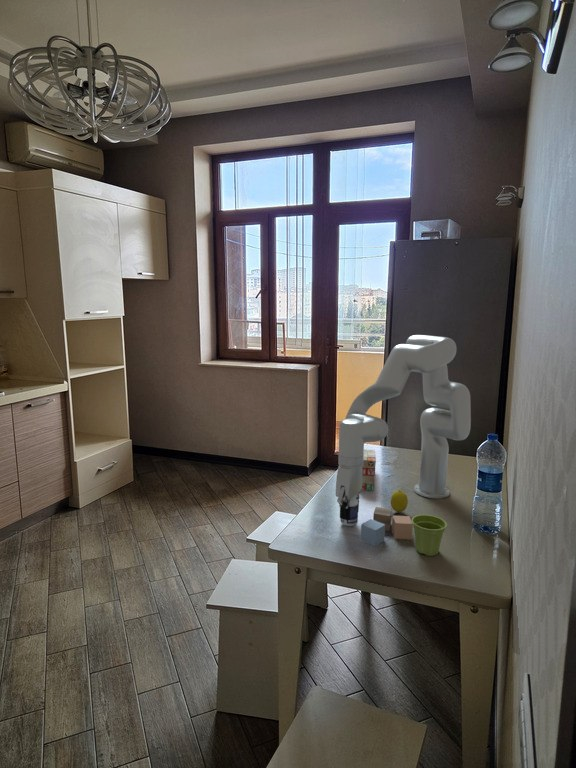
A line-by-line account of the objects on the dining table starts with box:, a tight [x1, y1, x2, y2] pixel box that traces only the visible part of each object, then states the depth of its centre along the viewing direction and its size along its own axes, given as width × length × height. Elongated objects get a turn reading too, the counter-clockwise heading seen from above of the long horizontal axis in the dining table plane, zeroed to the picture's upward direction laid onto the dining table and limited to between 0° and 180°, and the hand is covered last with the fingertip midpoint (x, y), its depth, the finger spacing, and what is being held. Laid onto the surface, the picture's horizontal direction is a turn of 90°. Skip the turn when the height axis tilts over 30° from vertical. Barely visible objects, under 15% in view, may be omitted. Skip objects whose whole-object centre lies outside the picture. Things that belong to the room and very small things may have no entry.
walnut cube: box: [372, 506, 393, 532], centre depth 147 cm, size 5×5×5 cm
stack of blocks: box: [360, 449, 377, 492], centre depth 183 cm, size 21×6×12 cm, turn 171°
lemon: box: [390, 489, 409, 514], centre depth 156 cm, size 6×6×8 cm
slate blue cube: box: [360, 518, 386, 547], centre depth 138 cm, size 5×5×5 cm
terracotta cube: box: [391, 515, 414, 540], centre depth 141 cm, size 5×5×5 cm
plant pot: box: [411, 514, 448, 557], centre depth 132 cm, size 9×9×9 cm
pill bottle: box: [339, 495, 359, 527], centre depth 146 cm, size 5×5×10 cm
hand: (349, 514), depth 147 cm, fingers closed on pill bottle, 5 cm apart
